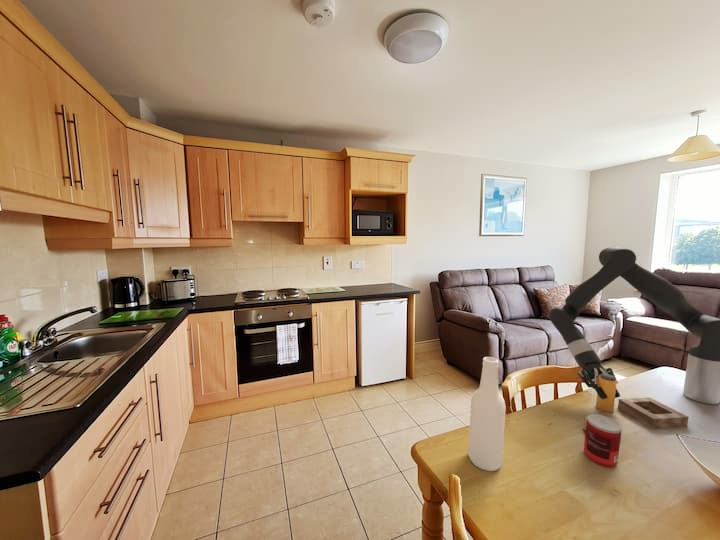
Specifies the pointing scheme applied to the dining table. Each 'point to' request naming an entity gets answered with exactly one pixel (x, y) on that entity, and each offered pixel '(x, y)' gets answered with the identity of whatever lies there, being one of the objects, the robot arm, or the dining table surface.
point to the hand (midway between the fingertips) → (611, 397)
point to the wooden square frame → (662, 416)
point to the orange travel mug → (607, 393)
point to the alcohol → (487, 420)
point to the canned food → (602, 440)
